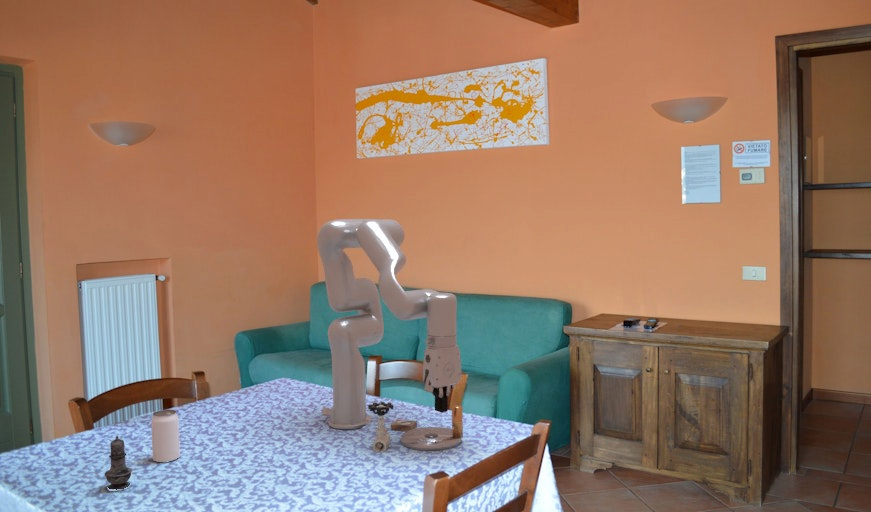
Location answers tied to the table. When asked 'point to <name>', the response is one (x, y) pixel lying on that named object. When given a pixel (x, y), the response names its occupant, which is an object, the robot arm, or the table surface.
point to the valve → (381, 426)
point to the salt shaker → (118, 466)
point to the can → (165, 436)
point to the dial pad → (403, 425)
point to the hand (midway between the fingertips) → (441, 410)
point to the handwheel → (436, 435)
